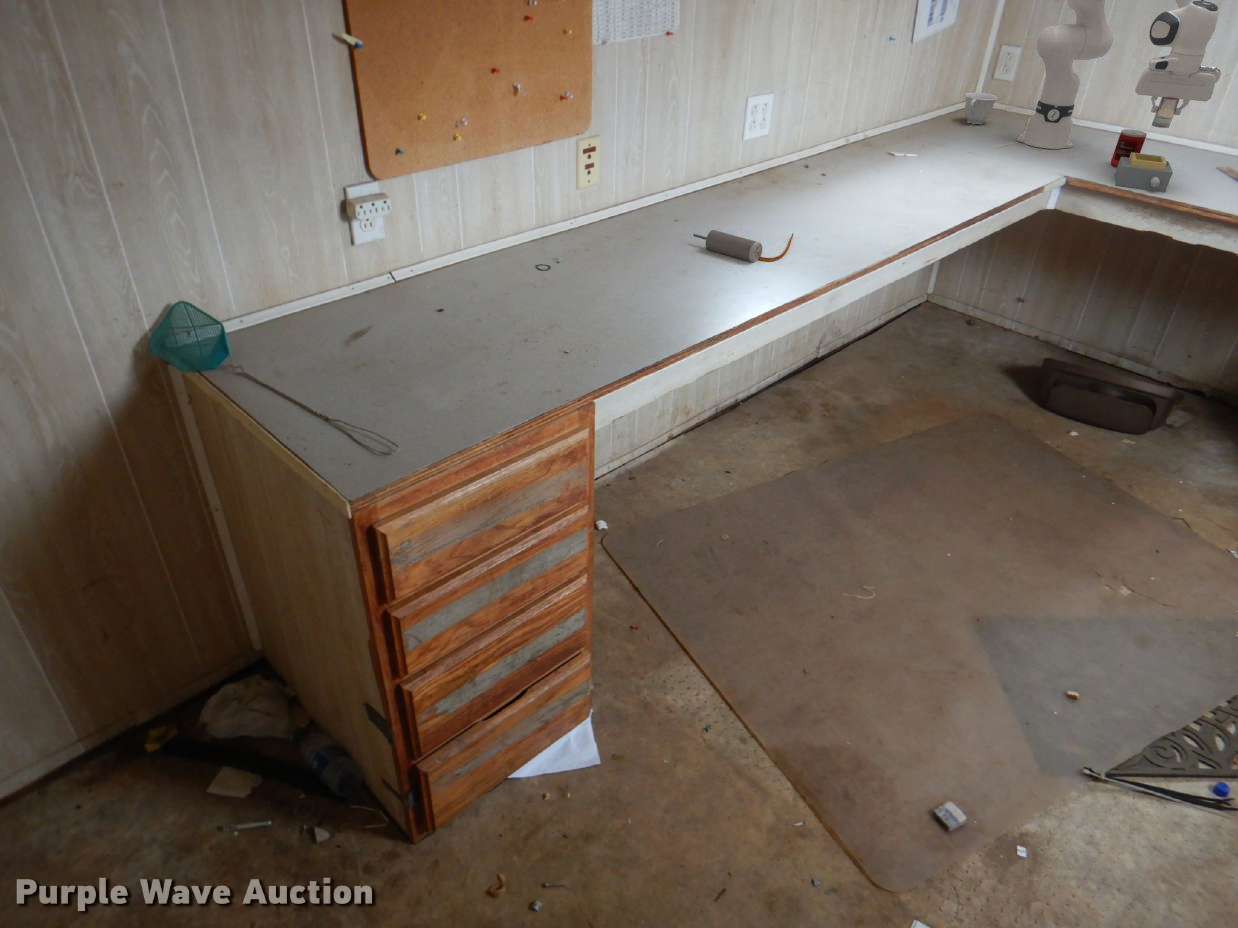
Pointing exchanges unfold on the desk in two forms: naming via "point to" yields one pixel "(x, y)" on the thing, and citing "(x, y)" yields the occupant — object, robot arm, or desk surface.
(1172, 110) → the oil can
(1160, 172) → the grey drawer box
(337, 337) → the desk surface
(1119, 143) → the canned food
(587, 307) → the desk surface
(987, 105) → the teacup
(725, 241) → the motor
